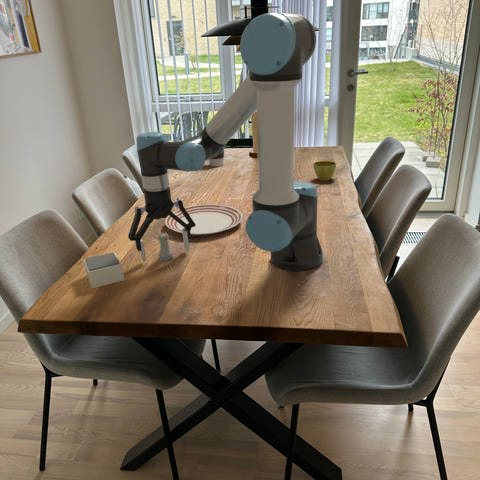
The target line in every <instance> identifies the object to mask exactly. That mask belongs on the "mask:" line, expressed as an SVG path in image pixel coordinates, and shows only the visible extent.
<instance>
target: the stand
mask: <svg viewBox="0 0 480 480" xmlns="http://www.w3.org/2000/svg"><path fill="white" fill-rule="evenodd" d="M83 263H84V267H85V272H86V276H87V278H88V279H87V280H88V281H89V284H90V287H91V289H96V288H100V287H103V286H107V285H111V284H114V283H115V284H116V283H118V282H123V281H125V274H124V269H123V265H122V262H121V261H120V259H119V256H118V255H117V253H116V252H109V253H105V254H100V255H95V256H91V257H87V258H85V259H83Z"/></svg>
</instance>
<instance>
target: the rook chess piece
mask: <svg viewBox="0 0 480 480" xmlns="http://www.w3.org/2000/svg"><path fill="white" fill-rule="evenodd" d="M168 238H170V237H169V234H168V233H167V232H160V233H159V234H158V237H157V239H158V240H159V244H160V245H159V247H160V248H159V249H160V250H159V252H158V259H159V260H160V261H162V262H163V261H164V262H165V261H167V262H169V261H171V260H172V259H173V257H174V253H173V251H172V249H170V245H169V239H168Z"/></svg>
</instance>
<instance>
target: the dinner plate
mask: <svg viewBox="0 0 480 480" xmlns="http://www.w3.org/2000/svg"><path fill="white" fill-rule="evenodd" d="M184 208H185V210H186V211H187V213H188V214H189V216H190V217H191V218H192V220H193V221H194V223H195V224H196V226H195V227H192V228H191V231H190V234H191V236H208V235H213V234H218V233H222V232H224V231H228V230H230V229H232V228H234V227H236V226H238V225H239V224H240V223H241V222H242V220H243V217H244V216H243V213H242V211H240V210H238V209H237V208H235V207H232V206H230V205H224V204H214V203H208V204H207V203H204V204H196V205H194V204H193V205H190V206H185V207H184ZM172 212H173V213H174V214H175V215H176V216H178V217H179V218H180V219H181V220H182V221H184V222H185V223H186V224H188V223H189V222H188V221H187V219H186V218H185V217H184V215H183V214H182V212H181V211H180V209H179V208H178V209H176V210H174V211H172ZM164 223H165V225H166V227H167V228H168V229H170V230H171V231H174V232H176V233H180V234H183V233H182V229H183V228H184V227H183V226H182V225H181V224H179V223H178V222H177V221H176V220H174V219H173V218H172V217H171V216H168V217H167V218H165V220H164Z"/></svg>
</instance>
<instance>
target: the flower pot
mask: <svg viewBox="0 0 480 480" xmlns="http://www.w3.org/2000/svg"><path fill="white" fill-rule="evenodd" d="M312 165H313V170H314V173H315V175H316V177H317V179H318V180H319V181H321V182H322V181H325V182H326V181H330V180H331V179H332V177H333V175H334V173H335V170H336V168H337V162H336V161H331V160H319V161H315V162H313V164H312Z"/></svg>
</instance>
